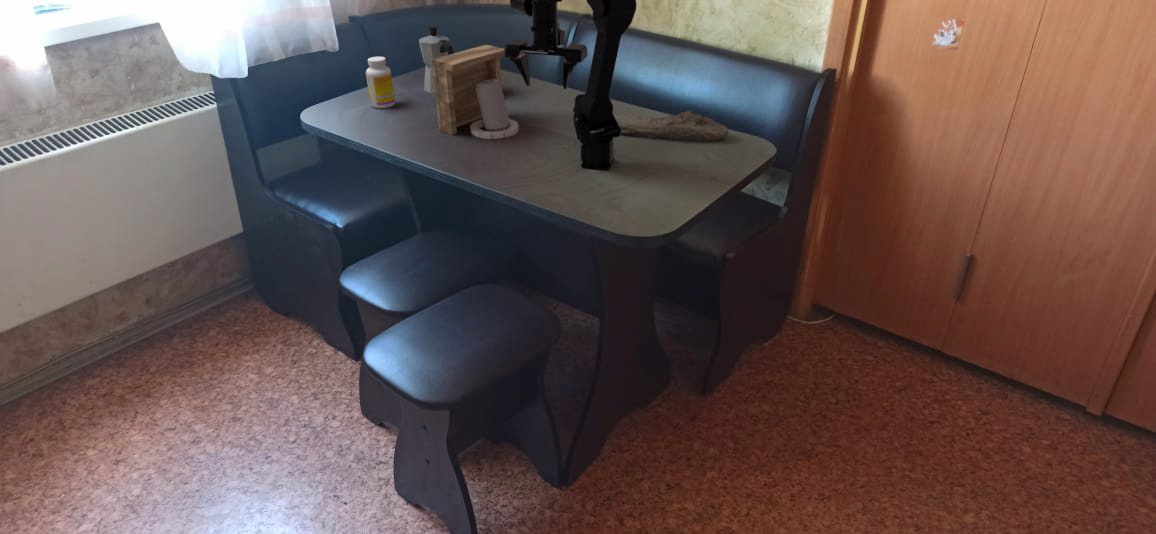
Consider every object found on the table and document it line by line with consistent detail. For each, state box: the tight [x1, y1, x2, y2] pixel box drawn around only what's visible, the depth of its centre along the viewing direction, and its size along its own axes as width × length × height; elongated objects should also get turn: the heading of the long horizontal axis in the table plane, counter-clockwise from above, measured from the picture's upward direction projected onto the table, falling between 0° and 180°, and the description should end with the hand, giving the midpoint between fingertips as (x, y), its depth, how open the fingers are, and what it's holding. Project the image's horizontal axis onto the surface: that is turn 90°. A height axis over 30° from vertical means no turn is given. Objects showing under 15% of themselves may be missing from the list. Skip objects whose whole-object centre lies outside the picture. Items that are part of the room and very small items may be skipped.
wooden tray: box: [432, 44, 505, 135], centre depth 197 cm, size 7×18×18 cm, turn 140°
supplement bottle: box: [365, 56, 396, 109], centre depth 212 cm, size 7×7×13 cm
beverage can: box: [476, 79, 510, 132], centre depth 194 cm, size 6×6×12 cm
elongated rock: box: [594, 110, 729, 143], centre depth 195 cm, size 35×5×10 cm
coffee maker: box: [418, 25, 455, 95], centre depth 221 cm, size 15×9×18 cm, turn 43°
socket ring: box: [469, 118, 520, 140], centre depth 197 cm, size 12×12×1 cm
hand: (546, 87), depth 186 cm, fingers open, 9 cm apart
